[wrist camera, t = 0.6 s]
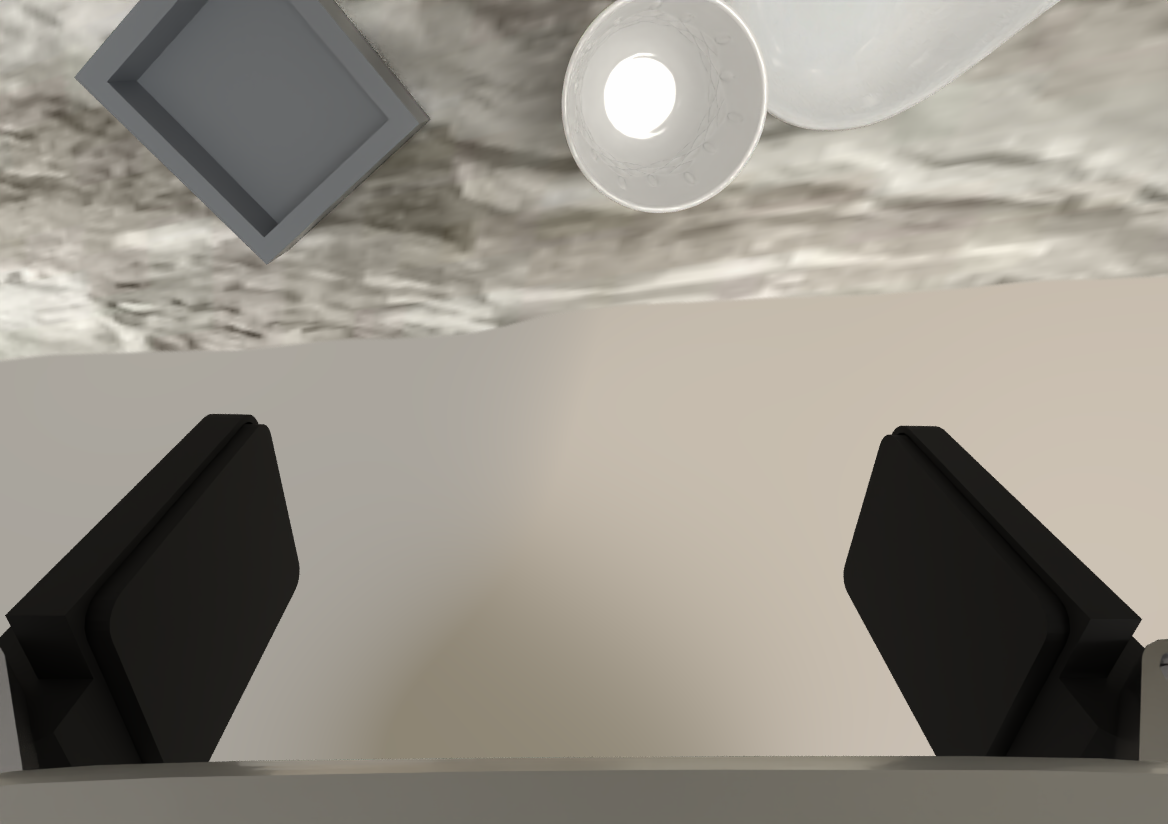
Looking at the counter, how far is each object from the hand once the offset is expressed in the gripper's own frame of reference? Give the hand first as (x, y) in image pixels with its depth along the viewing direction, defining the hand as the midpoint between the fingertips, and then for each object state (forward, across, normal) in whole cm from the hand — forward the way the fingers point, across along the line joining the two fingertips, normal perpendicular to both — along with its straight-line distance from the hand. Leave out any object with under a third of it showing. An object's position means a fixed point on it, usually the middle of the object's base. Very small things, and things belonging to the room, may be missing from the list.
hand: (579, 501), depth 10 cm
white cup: (+29, -4, -5) cm, 30 cm away
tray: (+29, +15, -4) cm, 33 cm away
